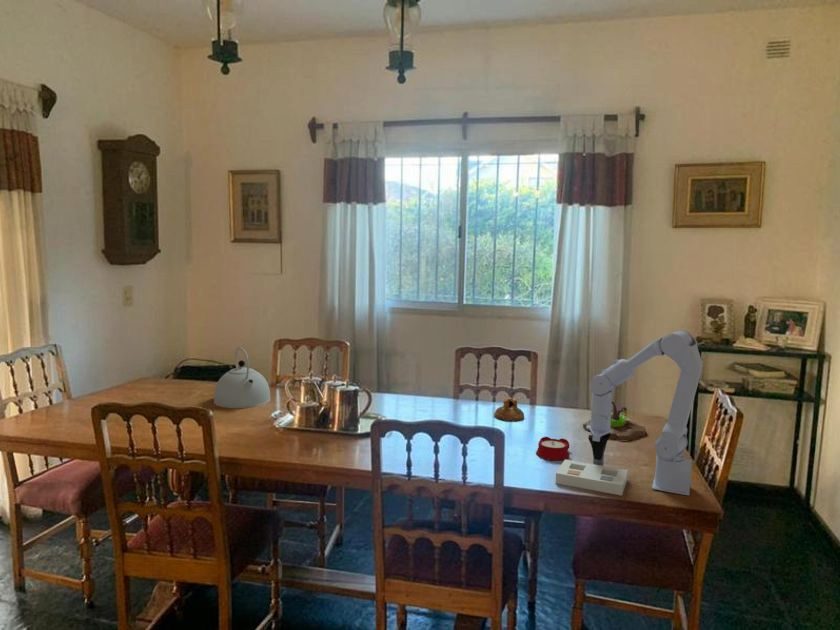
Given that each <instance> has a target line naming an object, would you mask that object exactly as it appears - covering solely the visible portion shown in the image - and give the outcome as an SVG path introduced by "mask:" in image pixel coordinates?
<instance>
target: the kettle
mask: <svg viewBox="0 0 840 630" xmlns="http://www.w3.org/2000/svg"><path fill="white" fill-rule="evenodd" d="M239 350H241V351H242V352H243V354H244V356H245V359H246V360H239V361H238V353H239ZM245 361H246V362H245ZM234 362H235V364H234V365H235V368H232V369H230V370H228V371H226V372H225V373H224V374H223V375H222V376H220V378H219V380H218V381H217V382H216V384H215V387H214V390H213V391H214V393H213V404H214V405H215V404H216V405H215V406H217V405H218V406H217V407H220V406H221V407H220V408H225V407H226V408H225V409H245V408H246V409H247V408H255V407H259V406H262V405H266V404H268V403H270V401H271V391H270V390H271V389H270V387H269V383H268V381H267V379H266V378H265V377H264V375H262V374H261V373H260V372H258V371H257V370H255V369H254V368H251V367H250V362H249V356H248V353H247V351H246V350H245V349H244V348H243V347H241V346H239V347H237V348H236V350H235V355H234ZM245 365H246V367H245Z"/></svg>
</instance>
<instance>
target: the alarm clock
mask: <svg viewBox="0 0 840 630" xmlns="http://www.w3.org/2000/svg"><path fill="white" fill-rule="evenodd" d="M537 444H538V447H537V450H536V451H535V453H536V456H538V458H539V457H540V458H541V459H545V460H549V461H550V462H553V461H564V460H568V458H570V452H569V449H570V442H569V441H568V440H567V439H565V438H559V439H558V438H557V439H556V438H551V437H548V436H542V437H541V438H540V440H539V441H538V443H537Z"/></svg>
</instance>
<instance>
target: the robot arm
mask: <svg viewBox="0 0 840 630" xmlns="http://www.w3.org/2000/svg"><path fill="white" fill-rule="evenodd" d="M664 355H665V356H667V357H669V358H670V359H671V360H673V361H674V362H675V363H676V365H677V366H678V367H679V369H680V372H679V376H678V381H677V383H676V387H675V391H674V395H673V397H672V398H673V399H672V403H671V405H670V409H669V413H668V416H667V420H666V423H665V425H664V427H663V429H662V431H661V434H660V435H659V436H660V437H658V438H657V439H656V441H655V443H654V451H655V453H656V458H655V459H656V460H655V469H654V470H655V473H654V475H655V476H654V478H653V481H652V482H653V483H652V486H651V489H652V490H657V491H662V492H667V493H673V494H678V495H684V496H690V491H691V487H692V483H693V482H692V481H693V480H692V479H691V478H692V464H693V460H692V459H689V458H686V457H685V454H684V450H686V449H687V446H688V443H689V442H688V437H687V435H688V427H687V426H688V425H687V424H688V422H689V418H690V414H691V410H692V407H693V403H694V401H695V397H696V393H697V388H698V386H699V382H700V378H701V375H702V371H703V366H704V364H703V360H702V357H701V354H700V352H699V348H698V341H697V340H696V338H695V337H694V336H693V335H692V334H691V333H690V332H689V331H687V330H683V329H679V330H676V331H674V332H672V333H668V334H665V335H664V336H663V337H660V338H658V339H656V340H654V341H652V342H651V343H649V344H647V345H646V346H645V347H644V348H642V349H641V350H639V351H638V352H637V353H635V354H634V355H633V356H631V357H630V358H628V359H625V358H622V359H615V360H614V361H612V363H613V364H612V365H610V366H609V367H607V368H606V369H605V368H604V369H602V370H601V371H600V374H597V375H594V376H593V377H592V378H591V379H590V381H589V389H590V391H591V405H590V406H591V408H590V420H591V423H590V426H589V425H587V426H586V429H589V430H590V431H591V432H590V431H589V432H590V433H591V434H589V435H588V441H589V444H590V447H591V450H592V456H593V457H594V459H596V460H601V459H602V456H603V451H604V453H605V452H606V447H607V443H608V441H609V440H610V439H609V437H610V435H611V433H610V432H611V429H610V422H611V415H612V404H613V403H612V398H613V391H614V390H615V388H616V387H618V386H619V385H621V384H623V383H624V382H625V381H627V380H629V379H630V378H632V377H633V376H634V375H635V369H637V368H638V367H640V366H641V365H643V364H645V363H646V362H648V361H650V360H652V359H654V357H655V356H664ZM611 403H612V404H611ZM593 457H592V458H593Z"/></svg>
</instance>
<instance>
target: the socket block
mask: <svg viewBox="0 0 840 630" xmlns="http://www.w3.org/2000/svg"><path fill="white" fill-rule="evenodd" d="M628 472H629V470H628V469H625V468H624V469H623V468H618V467H612V466H606V465H603V466H601V465H595V464H593V463H590V462H589V463H587V462H581V461H577V460H572V459H571V460H570V459H564V460H563V461H562V463H561V464H560V466H559V467H558V469H557V471H556V472H555V484H558V485H562V486H563V485H564V486H567V487H569V486H570V487H572V488H573V487H574V488H579V489H583V490H584V489H585V490H590V491H595V492H599V493H600V492H601V493H605V494H612V495H617V496H623V494H624V491H625V488H626V485H627V482H628Z"/></svg>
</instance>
